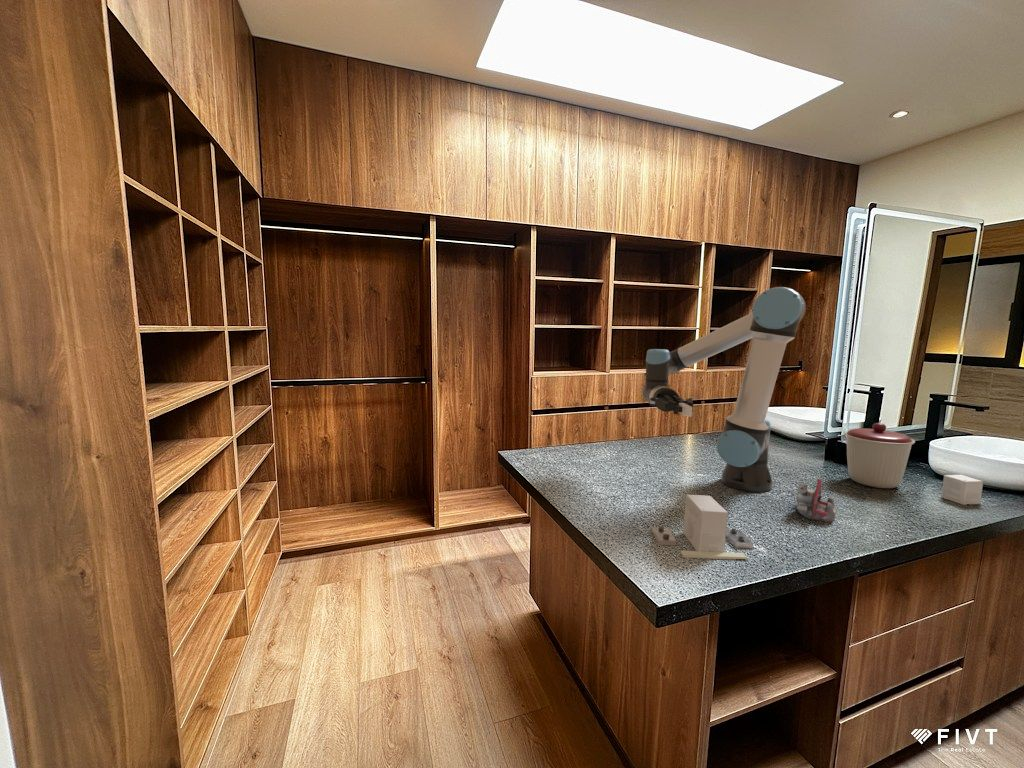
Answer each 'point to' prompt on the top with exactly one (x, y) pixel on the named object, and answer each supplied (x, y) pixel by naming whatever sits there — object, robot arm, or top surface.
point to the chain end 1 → (663, 536)
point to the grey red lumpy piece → (814, 504)
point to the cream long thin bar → (713, 555)
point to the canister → (877, 456)
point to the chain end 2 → (738, 539)
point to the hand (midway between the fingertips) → (689, 411)
